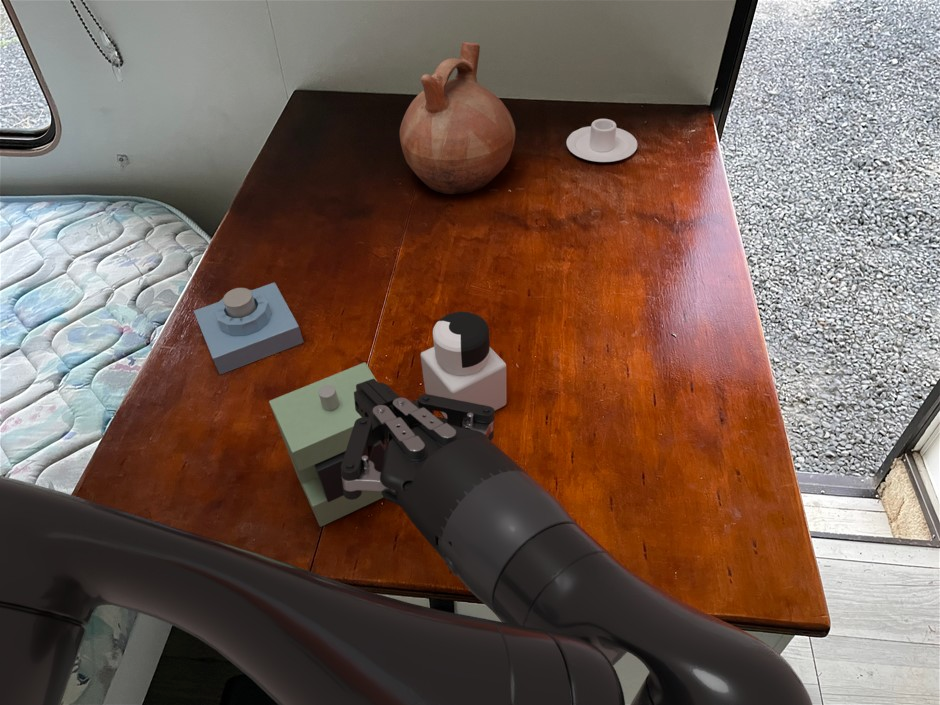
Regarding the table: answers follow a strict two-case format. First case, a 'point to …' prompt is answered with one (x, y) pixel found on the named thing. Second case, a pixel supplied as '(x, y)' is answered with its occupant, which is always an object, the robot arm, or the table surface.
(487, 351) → the medicine bottle
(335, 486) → the paddle
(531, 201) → the table surface
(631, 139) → the candle holder
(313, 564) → the table surface
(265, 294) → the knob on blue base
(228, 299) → the short grey cylinder plug
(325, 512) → the green block with peg
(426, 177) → the jug
